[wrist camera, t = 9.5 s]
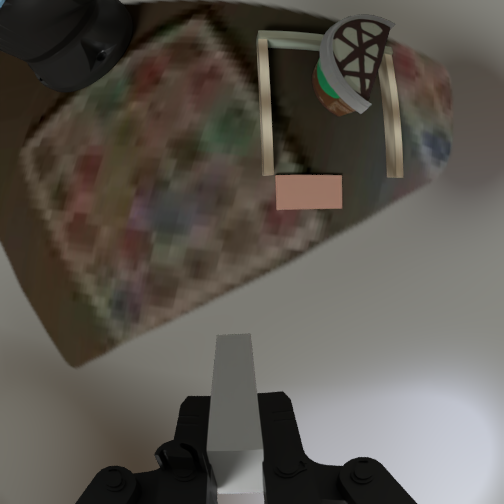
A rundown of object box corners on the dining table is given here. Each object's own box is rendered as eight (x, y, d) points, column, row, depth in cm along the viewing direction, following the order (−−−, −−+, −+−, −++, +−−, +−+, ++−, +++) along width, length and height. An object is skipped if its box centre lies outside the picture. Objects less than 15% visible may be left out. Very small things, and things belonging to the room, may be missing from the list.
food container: (319, 31, 28) (343, -8, 19) (361, 52, 29) (396, 20, 20) (287, 105, 31) (307, 78, 21) (334, 127, 32) (370, 109, 22)
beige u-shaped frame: (256, 41, 29) (258, 30, 26) (381, 55, 29) (391, 47, 26) (262, 175, 33) (265, 174, 30) (393, 177, 33) (405, 177, 31)
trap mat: (275, 175, 33) (275, 175, 32) (340, 175, 33) (341, 175, 33) (276, 209, 34) (276, 209, 33) (341, 208, 34) (342, 208, 34)
